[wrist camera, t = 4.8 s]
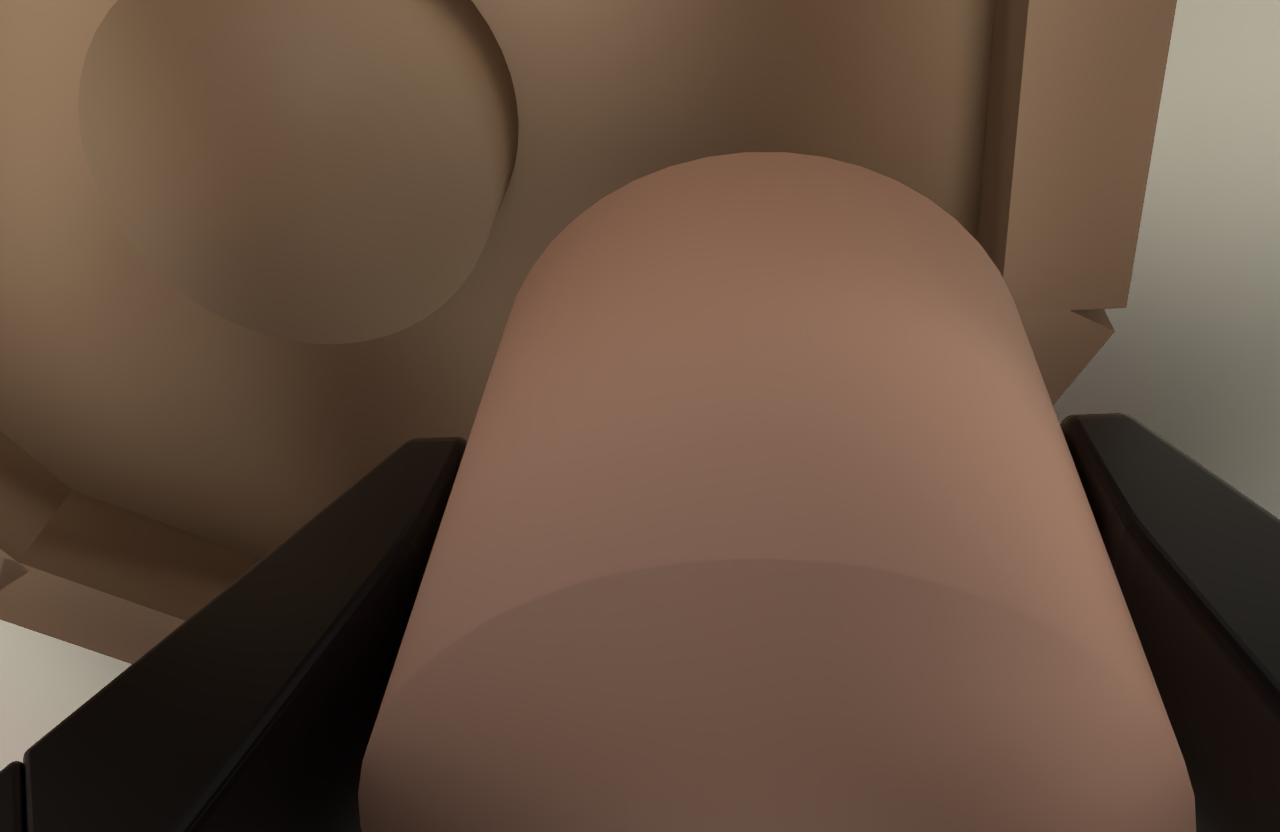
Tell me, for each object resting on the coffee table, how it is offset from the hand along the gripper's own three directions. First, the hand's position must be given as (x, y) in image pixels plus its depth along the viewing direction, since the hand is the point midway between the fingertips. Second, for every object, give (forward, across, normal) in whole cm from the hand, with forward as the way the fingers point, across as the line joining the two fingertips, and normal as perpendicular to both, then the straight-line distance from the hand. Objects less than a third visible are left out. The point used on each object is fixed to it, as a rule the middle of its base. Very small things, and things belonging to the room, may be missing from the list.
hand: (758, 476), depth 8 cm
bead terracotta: (+1, 0, 0) cm, 1 cm away
